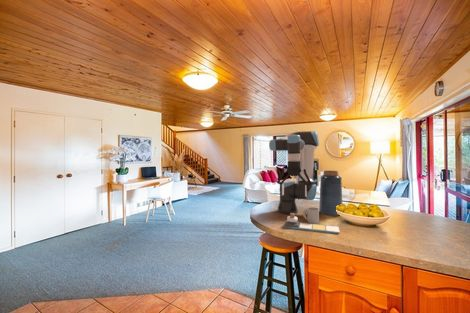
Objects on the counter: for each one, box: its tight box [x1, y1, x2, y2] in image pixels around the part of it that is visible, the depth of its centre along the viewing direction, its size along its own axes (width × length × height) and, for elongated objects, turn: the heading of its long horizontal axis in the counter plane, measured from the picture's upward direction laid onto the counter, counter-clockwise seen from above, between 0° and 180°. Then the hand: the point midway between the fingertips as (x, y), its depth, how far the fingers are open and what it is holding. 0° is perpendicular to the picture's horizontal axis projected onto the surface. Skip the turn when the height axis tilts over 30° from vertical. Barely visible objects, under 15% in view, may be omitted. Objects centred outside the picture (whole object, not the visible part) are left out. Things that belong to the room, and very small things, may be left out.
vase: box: [318, 170, 343, 217], centre depth 165 cm, size 16×16×32 cm
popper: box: [286, 213, 299, 222], centre depth 138 cm, size 6×6×4 cm
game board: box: [283, 220, 340, 235], centre depth 134 cm, size 11×31×2 cm, turn 69°
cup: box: [302, 206, 320, 224], centre depth 145 cm, size 7×10×9 cm
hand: (294, 195), depth 134 cm, fingers open, 13 cm apart
